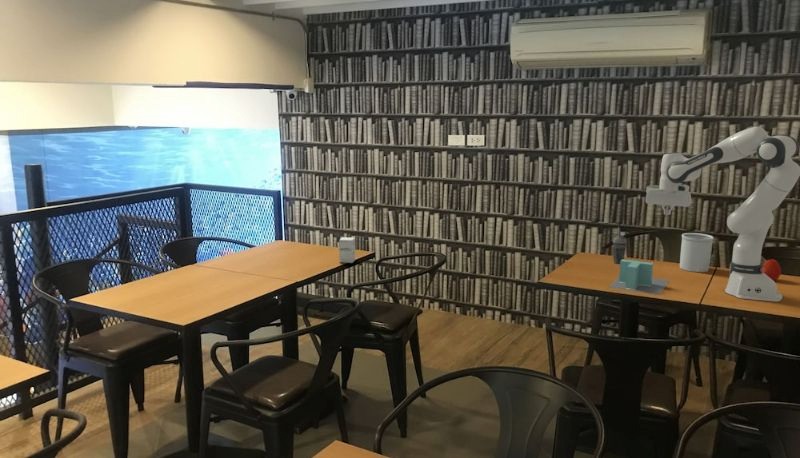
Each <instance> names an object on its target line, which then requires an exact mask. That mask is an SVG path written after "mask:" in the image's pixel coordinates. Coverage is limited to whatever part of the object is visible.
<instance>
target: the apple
mask: <svg viewBox="0 0 800 458" xmlns="http://www.w3.org/2000/svg"><path fill="white" fill-rule="evenodd" d="M779 263H780V262H778V261H777V260H776V259H773V258H771V259H767V260H765V262H764V263H763V264H762V265H764V267H765V269H766V271H765V272H764V273H765V274H766V275H767V276H768V277H769V278H771V279H772V280H773V281H774V282H775V281H777V280H778V279H779V278H780V277H781V275H782V270H781V266H780V264H779Z"/></svg>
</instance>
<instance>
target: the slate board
mask: <svg viewBox="0 0 800 458" xmlns="http://www.w3.org/2000/svg"><path fill="white" fill-rule="evenodd" d="M669 282H670V279H664V278H654V277H652V284H651V285H650V286H648V285H640V284H639V285H638V286H637V287H636V288H635V289H631V288H626V282H619V276H618V277H617V278H616V279H615V280H614V281H613V282H612V283H611V285H609V289H610V288H611V289H617V290H618V289H619V290H625V291H632V292H633V291H634V292H638V293H639V292H640V293H647V294H652V295H661V293H662V292H663V290H664V289H665V288H666V286H667V285H668V283H669Z"/></svg>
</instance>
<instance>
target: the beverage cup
mask: <svg viewBox="0 0 800 458" xmlns="http://www.w3.org/2000/svg"><path fill="white" fill-rule="evenodd" d="M617 230H618V231H617V235H616V236H615V237H614V238H613V239H612V247H613V250H612V251H613V264H614V265H620V261H621V260H622V259H624V260H625V255H626V254H625V253H626V247H627V244H628V241H627V238H626V237H625V236H624V235H620V227H619V226H618V227H617Z"/></svg>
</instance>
